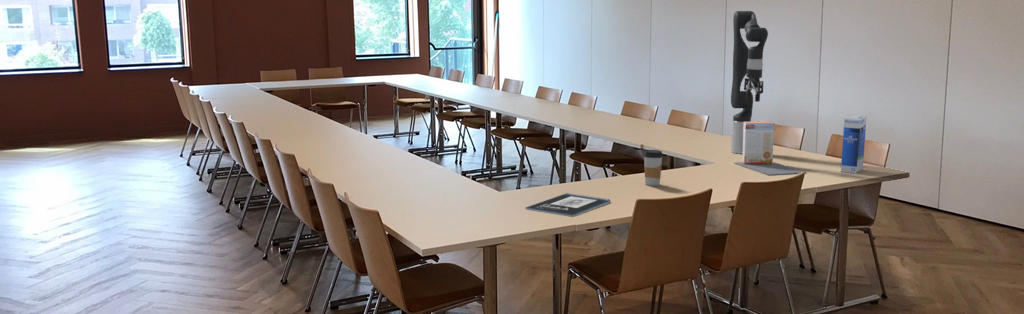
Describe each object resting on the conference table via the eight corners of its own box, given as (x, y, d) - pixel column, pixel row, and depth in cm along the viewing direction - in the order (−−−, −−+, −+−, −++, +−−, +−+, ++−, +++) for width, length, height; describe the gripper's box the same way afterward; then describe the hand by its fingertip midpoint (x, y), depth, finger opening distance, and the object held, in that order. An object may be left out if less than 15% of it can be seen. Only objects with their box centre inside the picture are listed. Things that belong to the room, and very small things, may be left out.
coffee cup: (657, 187, 379) (658, 153, 377) (639, 185, 384) (640, 151, 381) (664, 184, 386) (665, 150, 384) (647, 182, 390) (648, 149, 388)
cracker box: (769, 162, 436) (772, 121, 433) (772, 164, 430) (774, 122, 427) (741, 162, 437) (743, 120, 433) (743, 164, 431) (745, 122, 428)
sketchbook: (525, 210, 339) (525, 205, 339) (566, 197, 363) (566, 192, 363) (572, 218, 327) (572, 212, 326) (611, 203, 351) (611, 198, 350)
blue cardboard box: (847, 167, 424) (851, 115, 420) (863, 169, 420) (867, 116, 415) (840, 172, 414) (843, 118, 409) (856, 173, 409) (860, 119, 405)
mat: (734, 163, 436) (734, 162, 436) (769, 161, 441) (769, 160, 441) (768, 175, 405) (768, 174, 405) (806, 173, 410) (806, 172, 410)
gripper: (740, 66, 437) (738, 98, 441) (755, 69, 424) (753, 102, 427) (753, 66, 439) (752, 98, 443) (769, 69, 426) (767, 102, 429)
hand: (752, 100), depth 435 cm, fingers open, 8 cm apart
